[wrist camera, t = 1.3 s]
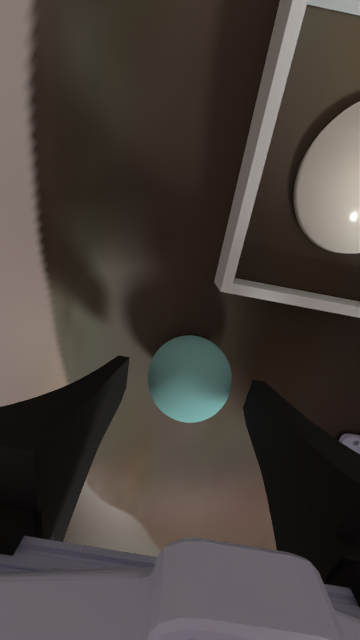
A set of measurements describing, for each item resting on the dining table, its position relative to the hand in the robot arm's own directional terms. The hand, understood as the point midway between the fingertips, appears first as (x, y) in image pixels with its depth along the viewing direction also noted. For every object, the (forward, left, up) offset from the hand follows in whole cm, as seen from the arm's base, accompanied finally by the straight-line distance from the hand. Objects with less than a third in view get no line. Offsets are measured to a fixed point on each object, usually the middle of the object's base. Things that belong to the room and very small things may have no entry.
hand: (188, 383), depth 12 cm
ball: (0, 0, -3) cm, 3 cm away
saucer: (-7, -12, -3) cm, 14 cm away
